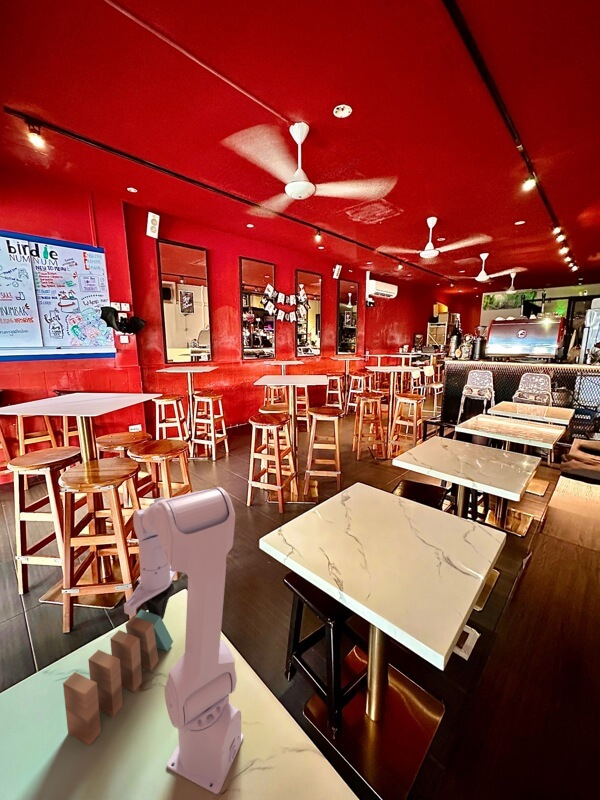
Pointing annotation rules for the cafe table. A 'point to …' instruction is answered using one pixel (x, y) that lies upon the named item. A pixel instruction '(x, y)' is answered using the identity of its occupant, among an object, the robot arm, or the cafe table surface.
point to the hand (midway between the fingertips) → (157, 619)
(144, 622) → the domino
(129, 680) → the domino
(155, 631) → the domino
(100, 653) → the domino
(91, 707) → the domino
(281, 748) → the cafe table surface
